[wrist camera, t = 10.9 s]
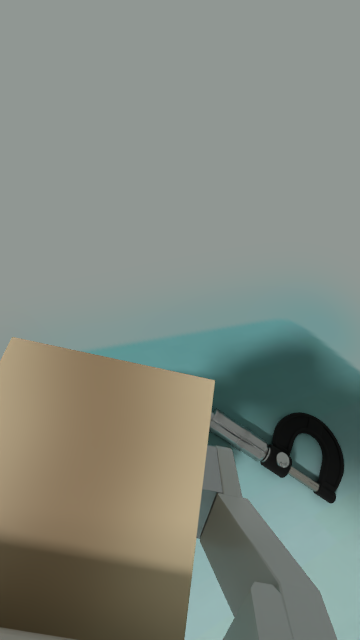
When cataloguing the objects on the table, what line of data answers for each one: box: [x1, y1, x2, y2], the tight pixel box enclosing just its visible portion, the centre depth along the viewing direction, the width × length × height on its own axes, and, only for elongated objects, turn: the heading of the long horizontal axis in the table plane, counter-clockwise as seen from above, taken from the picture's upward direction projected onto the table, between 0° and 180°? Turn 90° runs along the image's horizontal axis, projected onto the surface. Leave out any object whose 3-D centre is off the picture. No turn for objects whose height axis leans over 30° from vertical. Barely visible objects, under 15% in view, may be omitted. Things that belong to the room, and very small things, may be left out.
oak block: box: [0, 337, 215, 640], centre depth 8 cm, size 4×4×8 cm
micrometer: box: [209, 408, 344, 503], centre depth 25 cm, size 15×7×3 cm, turn 59°
